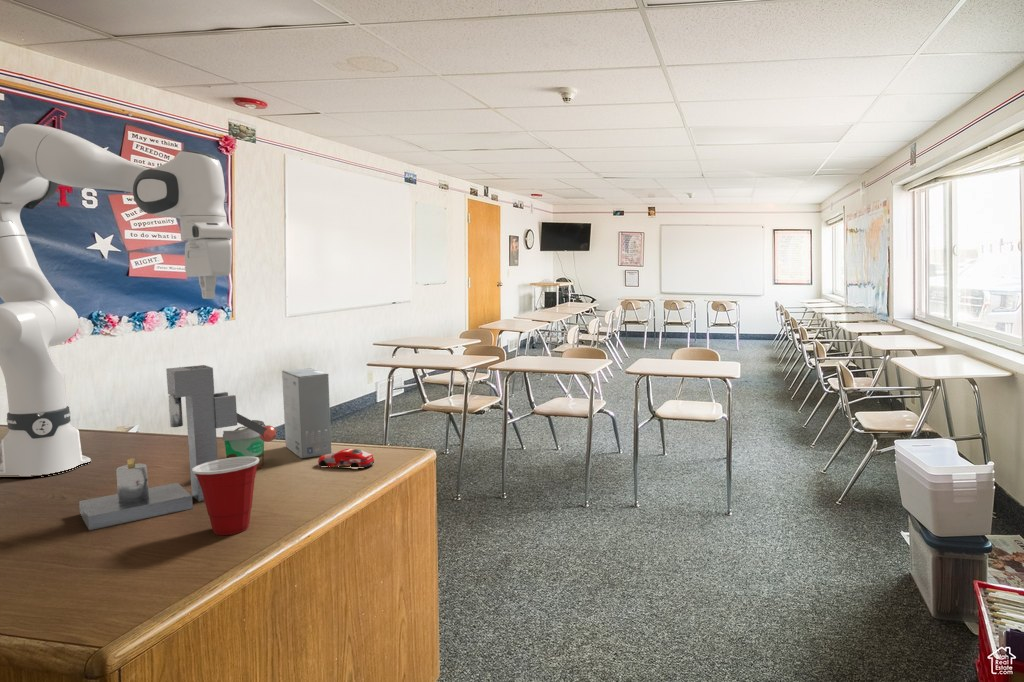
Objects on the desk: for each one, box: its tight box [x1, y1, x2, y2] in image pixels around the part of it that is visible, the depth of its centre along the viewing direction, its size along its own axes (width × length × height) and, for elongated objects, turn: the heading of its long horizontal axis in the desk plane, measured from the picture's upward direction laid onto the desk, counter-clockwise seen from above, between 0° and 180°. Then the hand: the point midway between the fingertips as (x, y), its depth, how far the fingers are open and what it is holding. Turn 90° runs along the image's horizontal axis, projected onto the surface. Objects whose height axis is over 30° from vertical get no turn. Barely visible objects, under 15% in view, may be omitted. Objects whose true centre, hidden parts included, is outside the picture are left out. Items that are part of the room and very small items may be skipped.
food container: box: [222, 419, 267, 472], centre depth 159 cm, size 12×6×10 cm, turn 168°
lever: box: [237, 412, 277, 443], centre depth 144 cm, size 3×14×3 cm
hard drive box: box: [281, 368, 333, 459], centre depth 174 cm, size 16×8×20 cm, turn 32°
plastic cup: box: [192, 457, 259, 536], centre depth 121 cm, size 11×11×12 cm
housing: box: [116, 458, 149, 503], centre depth 131 cm, size 5×5×8 cm
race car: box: [317, 448, 375, 468], centre depth 160 cm, size 13×5×4 cm, turn 74°
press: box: [78, 364, 238, 531], centre depth 133 cm, size 11×27×26 cm, turn 129°
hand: (208, 298), depth 145 cm, fingers closed
